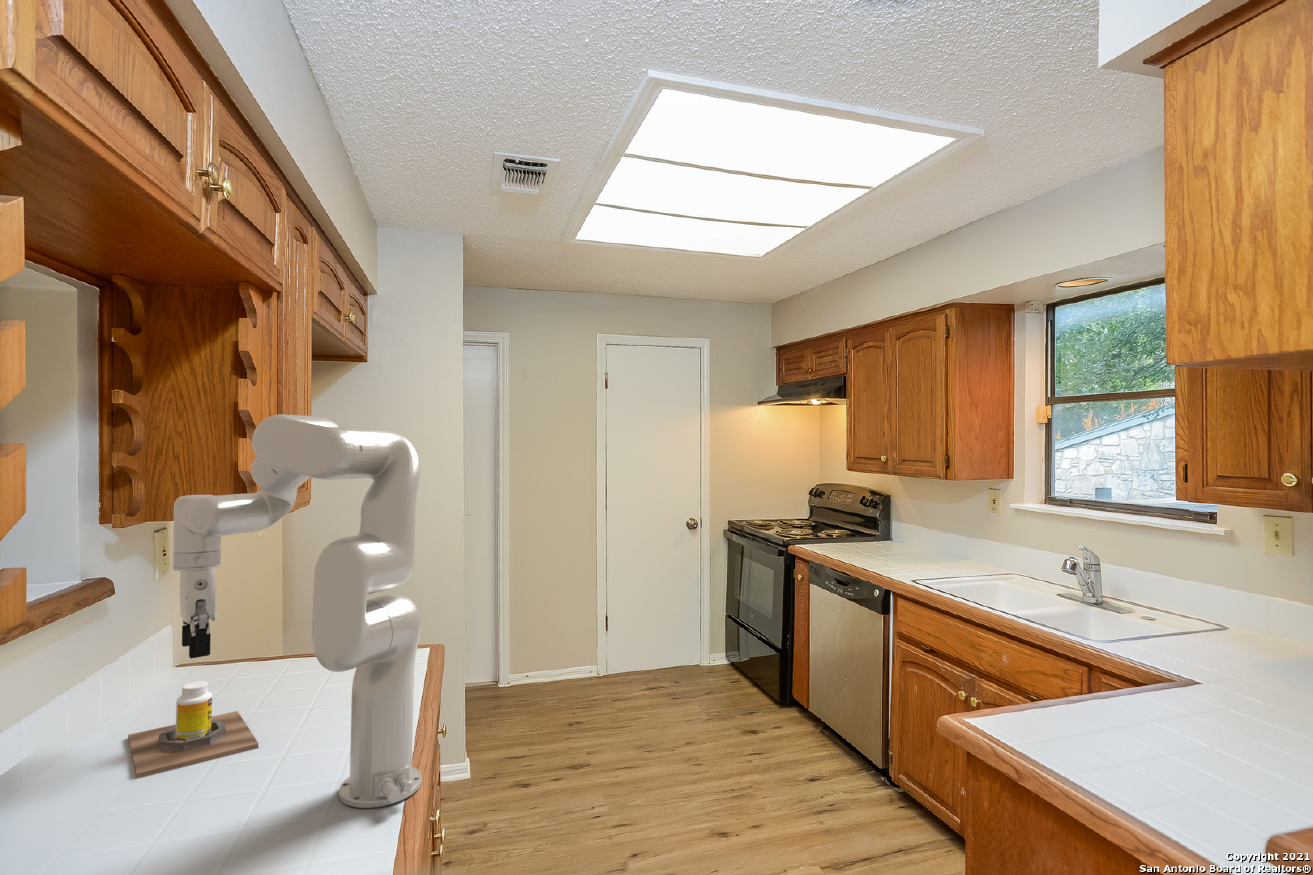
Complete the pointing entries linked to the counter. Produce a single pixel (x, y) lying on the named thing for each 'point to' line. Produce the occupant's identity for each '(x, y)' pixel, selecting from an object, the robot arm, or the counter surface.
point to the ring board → (189, 745)
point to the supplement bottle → (193, 711)
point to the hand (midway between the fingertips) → (195, 650)
